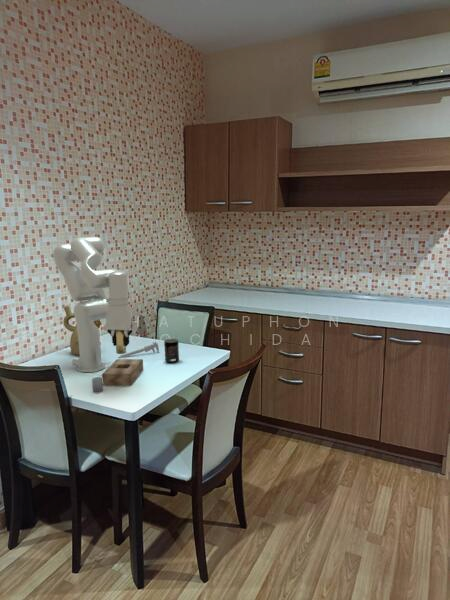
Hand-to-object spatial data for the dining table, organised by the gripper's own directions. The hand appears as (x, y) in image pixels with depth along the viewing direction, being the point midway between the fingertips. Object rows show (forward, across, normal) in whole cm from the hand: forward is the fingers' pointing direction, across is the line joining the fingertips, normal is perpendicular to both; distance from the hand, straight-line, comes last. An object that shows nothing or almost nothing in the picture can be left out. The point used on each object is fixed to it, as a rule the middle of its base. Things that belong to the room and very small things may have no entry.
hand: (121, 344), depth 192 cm
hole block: (+17, -2, +7) cm, 18 cm away
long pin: (+3, 0, 0) cm, 3 cm away
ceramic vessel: (+19, -34, +44) cm, 59 cm away
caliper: (+18, -4, +40) cm, 44 cm away
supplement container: (+17, +15, +29) cm, 37 cm away
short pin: (+17, -7, -9) cm, 20 cm away
